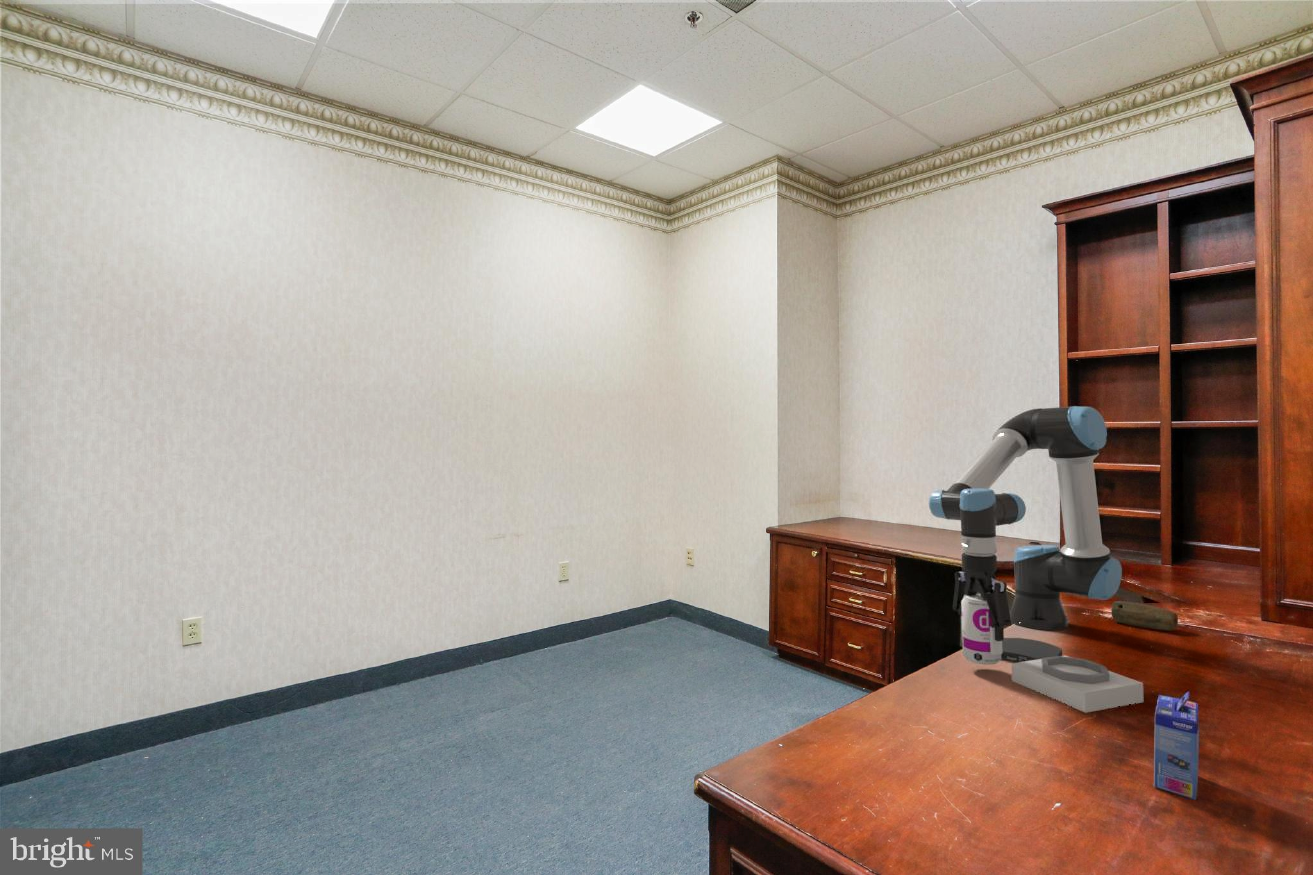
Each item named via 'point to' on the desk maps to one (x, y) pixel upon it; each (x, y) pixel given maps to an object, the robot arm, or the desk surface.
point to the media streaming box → (1027, 650)
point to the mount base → (1078, 683)
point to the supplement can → (977, 631)
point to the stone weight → (1144, 616)
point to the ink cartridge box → (1176, 745)
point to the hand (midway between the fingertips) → (981, 647)
